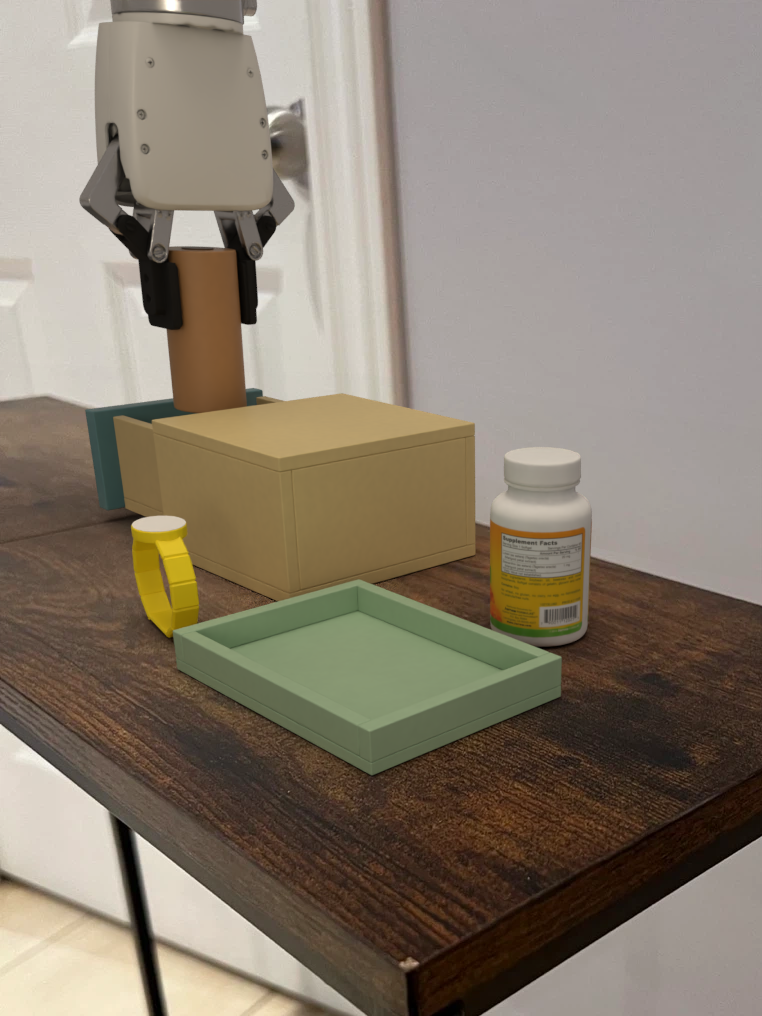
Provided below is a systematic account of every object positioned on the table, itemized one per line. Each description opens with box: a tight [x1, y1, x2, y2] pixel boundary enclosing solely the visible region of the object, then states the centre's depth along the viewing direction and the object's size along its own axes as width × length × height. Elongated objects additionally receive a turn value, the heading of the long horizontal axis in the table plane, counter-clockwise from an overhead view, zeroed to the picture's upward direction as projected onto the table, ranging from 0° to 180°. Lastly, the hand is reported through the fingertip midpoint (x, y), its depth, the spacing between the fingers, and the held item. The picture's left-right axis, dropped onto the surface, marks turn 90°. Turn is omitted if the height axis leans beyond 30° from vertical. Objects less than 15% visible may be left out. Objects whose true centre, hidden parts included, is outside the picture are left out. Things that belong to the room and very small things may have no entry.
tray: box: [172, 579, 563, 776], centre depth 56 cm, size 16×12×2 cm
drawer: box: [84, 387, 284, 518], centre depth 81 cm, size 17×13×7 cm
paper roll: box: [165, 245, 247, 413], centre depth 76 cm, size 5×5×10 cm
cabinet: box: [152, 392, 476, 602], centre depth 73 cm, size 14×15×9 cm
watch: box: [130, 516, 200, 639], centre depth 61 cm, size 6×3×6 cm, turn 36°
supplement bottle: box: [489, 446, 593, 648], centre depth 61 cm, size 5×5×10 cm
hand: (203, 321), depth 76 cm, fingers closed on paper roll, 4 cm apart
